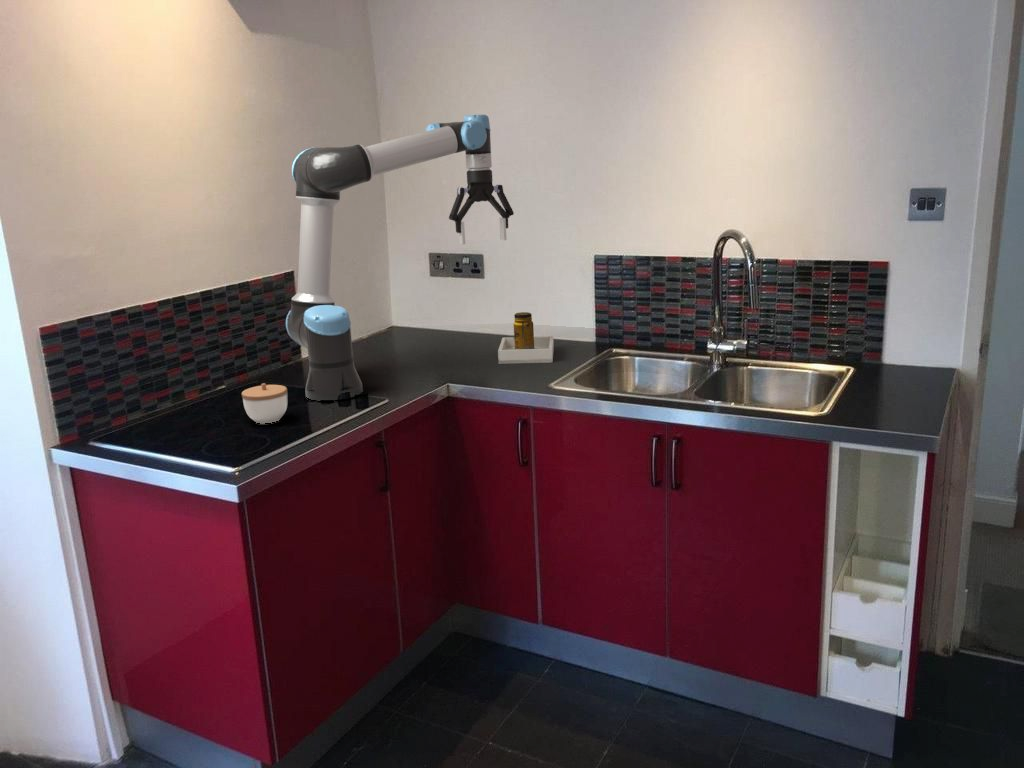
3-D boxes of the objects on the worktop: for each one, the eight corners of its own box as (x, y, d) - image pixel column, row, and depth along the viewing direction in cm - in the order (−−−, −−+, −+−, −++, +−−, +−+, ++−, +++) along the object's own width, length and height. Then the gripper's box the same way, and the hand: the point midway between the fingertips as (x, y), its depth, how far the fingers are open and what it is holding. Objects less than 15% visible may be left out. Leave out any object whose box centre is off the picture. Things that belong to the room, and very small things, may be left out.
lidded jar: (236, 423, 219) (231, 386, 216) (271, 411, 227) (267, 376, 225) (263, 429, 212) (259, 392, 210) (299, 418, 221) (295, 381, 218)
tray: (498, 363, 265) (497, 350, 264) (503, 350, 282) (502, 337, 281) (552, 362, 264) (552, 349, 263) (553, 348, 281) (553, 336, 280)
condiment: (509, 351, 275) (507, 313, 272) (533, 347, 279) (531, 309, 276) (521, 355, 269) (519, 316, 266) (545, 351, 273) (543, 313, 270)
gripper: (444, 171, 254) (449, 246, 260) (522, 167, 265) (525, 239, 270) (435, 171, 261) (439, 244, 267) (511, 167, 271) (514, 237, 277)
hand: (483, 241), depth 269 cm, fingers open, 13 cm apart
